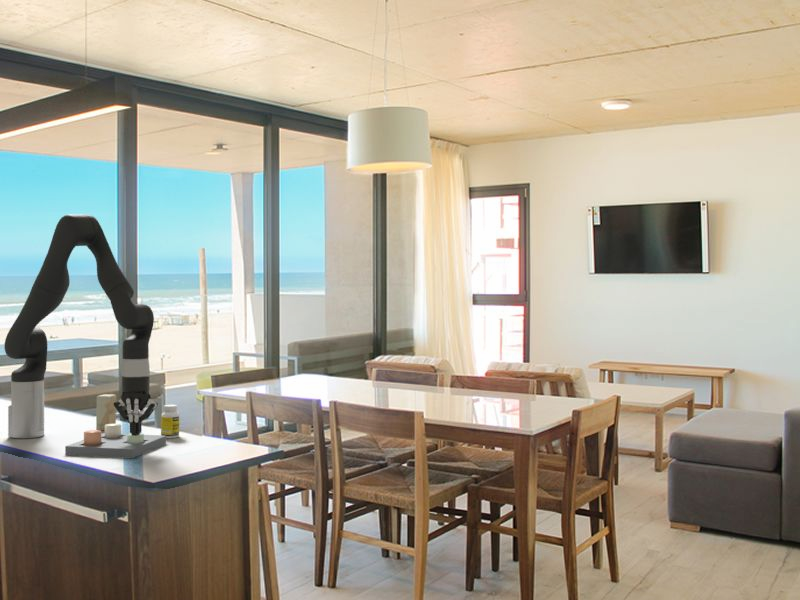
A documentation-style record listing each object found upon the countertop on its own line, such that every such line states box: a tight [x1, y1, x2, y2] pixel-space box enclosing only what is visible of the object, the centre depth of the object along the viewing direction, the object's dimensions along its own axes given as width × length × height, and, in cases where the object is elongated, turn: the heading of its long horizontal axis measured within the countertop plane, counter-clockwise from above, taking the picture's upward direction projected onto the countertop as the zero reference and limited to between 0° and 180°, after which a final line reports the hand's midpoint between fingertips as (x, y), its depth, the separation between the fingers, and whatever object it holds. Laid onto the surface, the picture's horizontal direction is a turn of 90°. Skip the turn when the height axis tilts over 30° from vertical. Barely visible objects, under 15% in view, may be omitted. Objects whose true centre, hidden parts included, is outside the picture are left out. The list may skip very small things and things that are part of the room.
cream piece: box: [104, 423, 122, 439], centre depth 236 cm, size 5×5×4 cm
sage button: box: [127, 432, 145, 444], centre depth 229 cm, size 5×5×4 cm
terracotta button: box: [83, 429, 102, 446], centre depth 226 cm, size 5×5×4 cm
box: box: [95, 393, 117, 431], centre depth 261 cm, size 5×4×11 cm
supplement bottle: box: [160, 404, 180, 439], centre depth 249 cm, size 5×5×10 cm
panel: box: [64, 432, 167, 459], centre depth 230 cm, size 20×20×2 cm
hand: (135, 434), depth 229 cm, fingers closed
